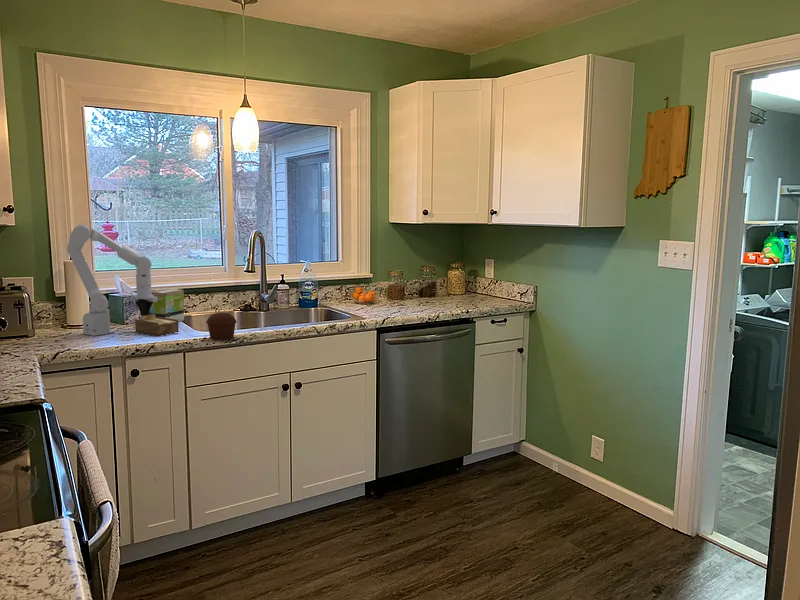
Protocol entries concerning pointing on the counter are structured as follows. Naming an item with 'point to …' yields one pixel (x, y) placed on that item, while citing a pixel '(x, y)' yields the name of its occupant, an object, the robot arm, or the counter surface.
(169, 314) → the tea box
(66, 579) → the counter surface
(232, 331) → the muffin
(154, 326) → the box
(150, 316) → the lid
